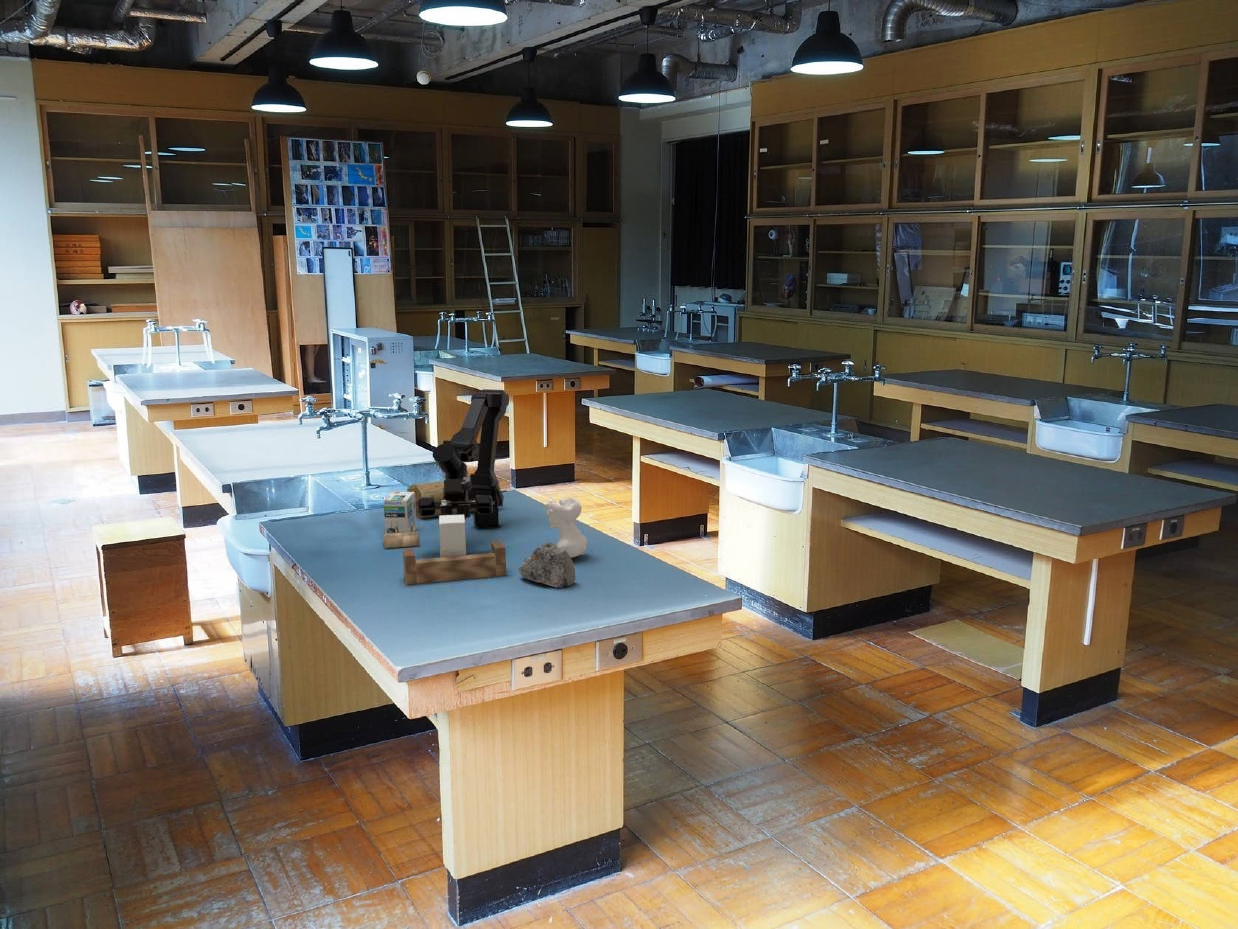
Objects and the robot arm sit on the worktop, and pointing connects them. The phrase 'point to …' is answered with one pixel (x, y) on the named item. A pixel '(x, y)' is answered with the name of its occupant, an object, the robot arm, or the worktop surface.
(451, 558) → the stop rail
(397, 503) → the light bulb box
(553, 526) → the white bust sculpture
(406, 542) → the roller
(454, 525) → the small box
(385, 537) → the roller
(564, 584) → the mineral rock
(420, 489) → the core sample
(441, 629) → the worktop surface
